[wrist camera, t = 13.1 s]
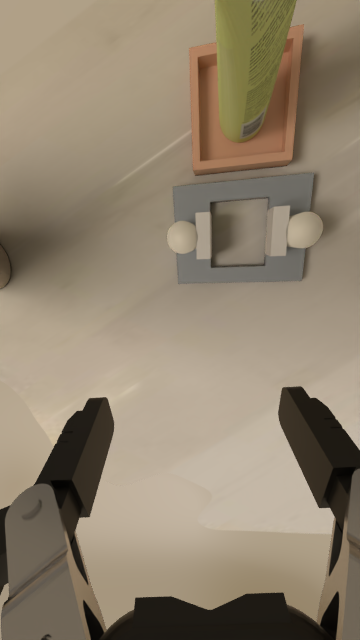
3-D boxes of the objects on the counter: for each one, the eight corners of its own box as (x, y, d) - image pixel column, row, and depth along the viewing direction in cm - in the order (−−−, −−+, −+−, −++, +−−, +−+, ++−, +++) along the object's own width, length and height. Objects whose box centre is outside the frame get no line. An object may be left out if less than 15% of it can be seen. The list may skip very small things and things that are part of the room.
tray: (195, 175, 29) (193, 170, 27) (192, 64, 26) (189, 48, 23) (286, 165, 27) (292, 159, 25) (296, 44, 24) (304, 24, 21)
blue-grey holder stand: (177, 282, 34) (170, 289, 29) (172, 188, 30) (162, 179, 25) (301, 279, 31) (315, 286, 26) (313, 174, 27) (331, 162, 22)
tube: (216, 88, 25) (199, -286, 7) (265, 74, 24) (388, -400, 6) (220, 149, 27) (214, -29, 9) (266, 139, 26) (363, -85, 8)
